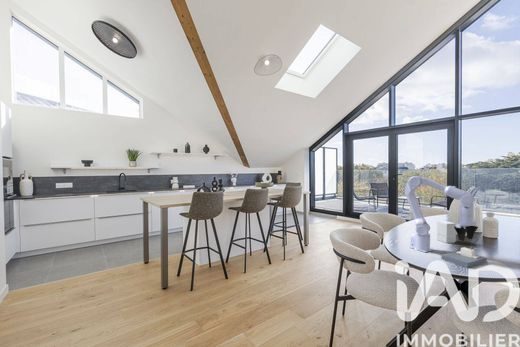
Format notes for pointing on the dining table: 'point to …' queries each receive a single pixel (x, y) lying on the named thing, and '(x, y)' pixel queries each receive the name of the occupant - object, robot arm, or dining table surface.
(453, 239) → the supplement box
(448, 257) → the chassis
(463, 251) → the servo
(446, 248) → the dining table surface
